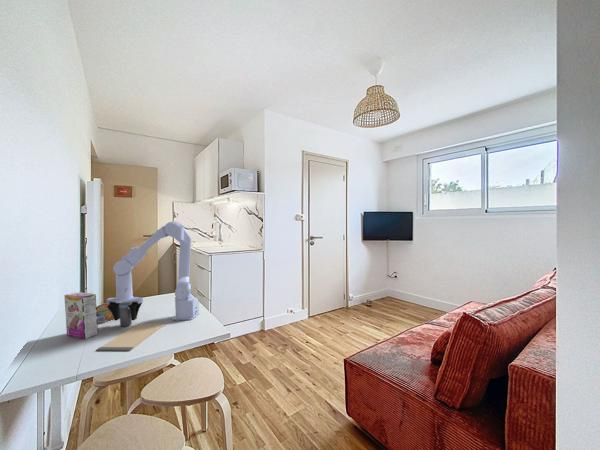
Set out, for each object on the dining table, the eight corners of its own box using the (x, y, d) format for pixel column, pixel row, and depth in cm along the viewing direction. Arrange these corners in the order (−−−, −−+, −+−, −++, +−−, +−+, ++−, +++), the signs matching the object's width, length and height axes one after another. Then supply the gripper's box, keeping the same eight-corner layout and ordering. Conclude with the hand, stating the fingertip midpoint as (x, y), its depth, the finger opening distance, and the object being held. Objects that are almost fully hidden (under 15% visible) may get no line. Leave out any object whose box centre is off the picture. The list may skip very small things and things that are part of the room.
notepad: (165, 324, 107) (165, 323, 107) (129, 350, 86) (129, 349, 86) (138, 324, 108) (138, 323, 108) (96, 350, 87) (96, 349, 87)
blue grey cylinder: (134, 323, 109) (133, 301, 109) (127, 327, 105) (126, 305, 105) (124, 323, 109) (124, 301, 109) (117, 327, 105) (116, 305, 105)
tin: (95, 325, 108) (94, 306, 107) (92, 324, 109) (91, 305, 109) (133, 313, 120) (132, 296, 120) (130, 312, 122) (129, 295, 122)
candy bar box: (65, 336, 98) (63, 294, 98) (80, 330, 103) (78, 291, 102) (84, 340, 95) (82, 297, 94) (98, 334, 99) (96, 293, 99)
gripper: (100, 291, 103) (101, 323, 103) (134, 290, 102) (135, 323, 103) (113, 286, 110) (115, 316, 111) (145, 286, 109) (146, 316, 110)
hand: (125, 319), depth 107 cm, fingers open, 7 cm apart
